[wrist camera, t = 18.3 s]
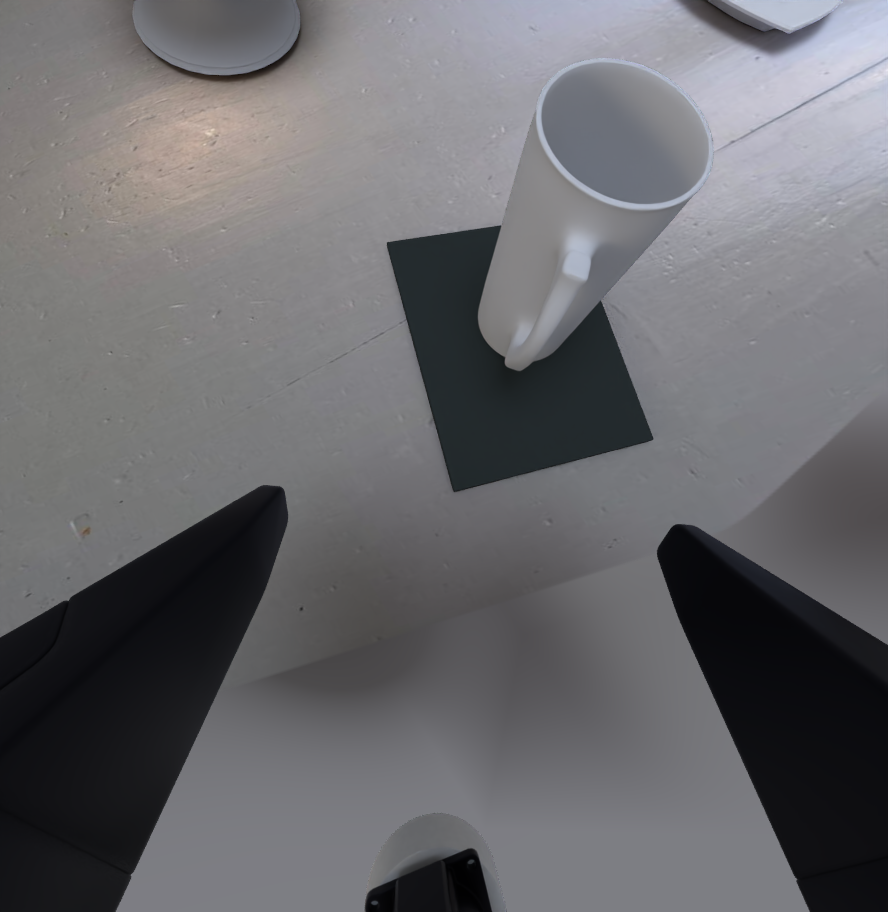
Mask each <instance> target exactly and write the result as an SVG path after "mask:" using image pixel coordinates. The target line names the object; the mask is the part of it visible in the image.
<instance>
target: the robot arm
mask: <svg viewBox="0 0 888 912" xmlns="http://www.w3.org/2000/svg"><path fill="white" fill-rule="evenodd" d="M287 523H288V511H287V504H286V497H285V492H284V489H283V488H282V487H280V486H270V485H263V486H260V487H258V488H256V489H255V490H253V491H251V492H250V493H248V494H246V495H245V496H243V497H241V498H239V499H238V500H236V501H234V502H233V503H231V504H229V505H227V506H226V507H224V508H222V509H221V510H219V511H217V512H215V513H214V514H212V515H210V516H209V517H207V518H205V519H203V520H202V521H200V522H198V523H197V524H195V525H193V526H191V527H190V528H188V529H186V530H185V531H183V532H181V533H180V534H178V535H176V536H174V537H173V538H171V539H169V540H168V541H166V542H164V543H162V544H161V545H159V546H157V547H156V548H154V549H152V550H150V551H149V552H147V553H145V554H144V555H142V556H140V557H138V558H137V559H135V560H133V561H132V562H130V563H128V564H126V565H125V566H123V567H121V568H120V569H118V570H116V571H115V572H113V573H111V574H109V575H108V576H106V577H104V578H103V579H101V580H99V581H97V582H96V583H94V584H92V585H91V586H89V587H87V588H85V589H84V590H82V591H80V592H79V593H77V594H75V595H73V596H72V597H71V598H70V600H69V601H63V602H61V603H59V604H58V605H56V606H54V607H53V608H51V609H49V610H48V611H46V612H44V613H42V614H41V615H39V616H37V617H36V618H34V619H32V620H30V621H29V622H27V623H25V624H23V625H21V626H20V627H18V628H16V629H14V630H13V631H11V632H9V633H7V634H6V635H4V636H2V637H0V912H116V910H117V907H118V905H119V903H120V901H121V899H122V897H123V895H124V892H125V890H126V888H127V886H128V884H129V882H130V879H131V874H132V873H133V872H134V870H135V868H136V866H137V864H138V862H139V860H140V857H141V855H142V853H143V851H144V849H145V847H146V845H147V842H148V840H149V838H150V836H151V834H152V832H153V830H154V827H155V825H156V823H157V821H158V819H159V817H160V814H161V812H162V810H163V808H164V806H165V804H166V802H167V800H168V797H169V795H170V793H171V791H172V789H173V786H174V785H175V782H176V780H177V778H178V776H179V774H180V772H181V770H182V767H183V765H184V763H185V761H186V759H187V757H188V755H189V752H190V750H191V748H192V746H193V744H194V741H195V739H196V737H197V735H198V733H199V731H200V729H201V727H202V725H203V722H204V720H205V718H206V716H207V714H208V711H209V710H210V707H211V705H212V703H213V701H214V699H215V697H216V695H217V692H218V690H219V688H220V686H221V684H222V682H223V680H224V677H225V675H226V673H227V671H228V669H229V667H230V664H231V662H232V660H233V658H234V656H235V654H236V652H237V649H238V647H239V645H240V643H241V641H242V639H243V637H244V634H245V632H246V630H247V628H248V626H249V624H250V622H251V619H252V617H253V615H254V613H255V611H256V609H257V607H258V604H259V602H260V600H261V598H262V596H263V593H264V591H265V589H266V586H267V583H268V580H269V577H270V574H271V571H272V568H273V565H274V562H275V559H276V556H277V553H278V550H279V548H280V545H281V542H282V539H283V536H284V533H285V530H286V527H287ZM657 557H658V560H659V563H660V566H661V569H662V572H663V575H664V578H665V581H666V583H667V587H668V589H669V592H670V595H671V598H672V601H673V604H674V607H675V609H676V613H677V615H678V618H679V620H680V623H681V625H682V627H683V630H684V632H685V634H686V637H687V639H688V641H689V643H690V645H691V648H692V650H693V652H694V654H695V657H696V659H697V661H698V663H699V665H700V667H701V670H702V672H703V674H704V677H705V679H706V681H707V683H708V685H709V687H710V690H711V692H712V694H713V697H714V699H715V701H716V703H717V705H718V707H719V710H720V712H721V714H722V717H723V719H724V721H725V723H726V725H727V728H728V730H729V732H730V734H731V736H732V738H733V741H734V743H735V745H736V748H737V750H738V752H739V754H740V756H741V759H742V761H743V763H744V765H745V768H746V770H747V772H748V774H749V777H750V779H751V781H752V783H753V785H754V788H755V790H756V792H757V794H758V797H759V798H760V801H761V803H762V805H763V807H764V809H765V812H766V814H767V816H768V819H769V821H770V823H771V825H772V828H773V830H774V832H775V834H776V836H777V839H778V841H779V843H780V845H781V848H782V850H783V852H784V854H785V856H786V858H787V861H788V863H789V865H790V867H791V870H792V872H793V874H794V876H795V878H797V884H798V886H799V889H800V891H801V893H802V895H803V897H804V900H805V902H806V904H807V906H808V908H809V911H810V912H888V645H887V644H885V643H883V642H882V641H880V640H879V639H877V638H876V637H874V636H872V635H871V634H869V633H867V632H866V631H864V630H862V629H861V628H859V627H858V626H856V625H854V624H853V623H851V622H850V621H848V620H846V619H845V618H843V617H842V616H840V615H838V614H837V613H835V612H833V611H832V610H830V609H828V608H827V607H825V606H824V605H822V604H820V603H819V602H817V601H816V600H814V599H812V598H811V597H809V596H808V595H806V594H804V593H803V592H801V591H799V590H798V589H796V588H794V587H793V586H791V585H790V584H788V583H786V582H785V581H783V580H781V579H780V578H778V577H777V576H775V575H774V574H772V573H770V572H769V571H767V570H765V569H763V568H762V567H761V566H759V565H757V564H756V563H754V562H752V561H751V560H749V559H747V558H746V557H744V556H743V555H741V554H739V553H738V552H736V551H735V550H733V549H731V548H730V547H728V546H727V545H725V544H723V543H722V542H720V541H718V540H717V539H715V538H714V537H712V536H710V535H709V534H707V533H706V532H704V531H702V530H701V529H699V528H697V527H695V526H692V525H683V524H676V525H674V526H673V527H672V528H671V529H670V530H669V532H668V533H667V535H666V536H665V538H664V539H663V541H662V542H661V544H660V545H659V547H658V550H657ZM470 860H474V862H473V863H472V864H468V861H470ZM373 901H377V902H378V903H377V904H376V905H373V904H371V902H373ZM365 912H492V908H491V904H490V900H489V896H488V892H487V888H486V883H485V879H484V875H483V871H482V867H481V863H480V858H479V855H478V852H477V851H476V850H475V849H473V848H469V849H466V850H463V851H461V852H459V853H456V854H454V855H452V856H449V857H447V858H444V859H442V860H439V861H437V862H434V863H432V864H430V865H427V866H425V867H422V868H420V869H418V870H415V871H413V872H411V873H408V874H406V875H403V876H401V877H399V878H397V879H394V880H392V881H390V882H387V883H385V884H382V885H380V886H378V887H375V888H373V889H371V890H370V891H369V892H368V894H367V896H366V901H365Z"/></svg>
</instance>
